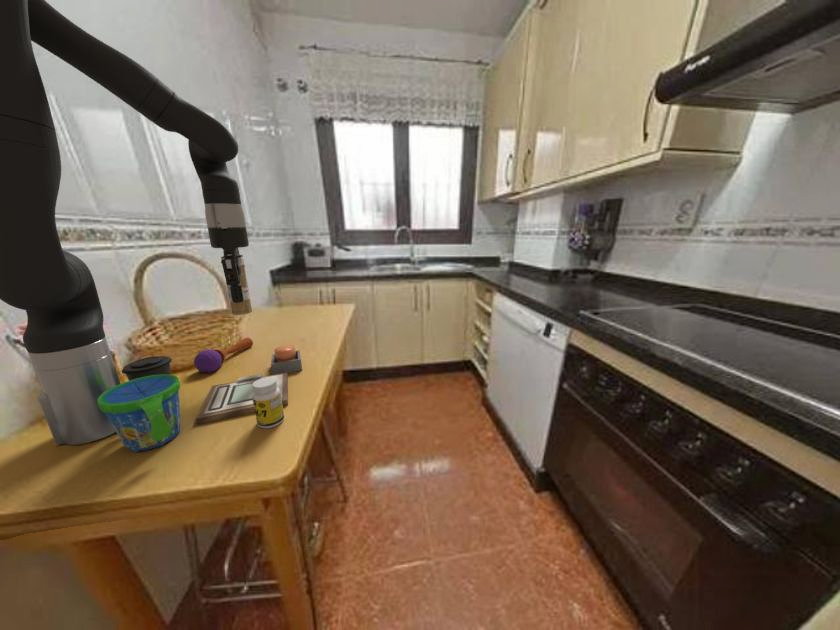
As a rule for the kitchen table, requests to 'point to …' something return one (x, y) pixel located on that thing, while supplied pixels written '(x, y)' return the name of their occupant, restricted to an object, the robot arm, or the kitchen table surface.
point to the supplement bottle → (267, 403)
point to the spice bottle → (244, 306)
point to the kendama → (218, 356)
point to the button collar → (286, 365)
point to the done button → (285, 353)
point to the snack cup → (144, 410)
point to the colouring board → (236, 398)
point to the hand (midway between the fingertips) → (239, 299)
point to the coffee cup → (147, 367)
